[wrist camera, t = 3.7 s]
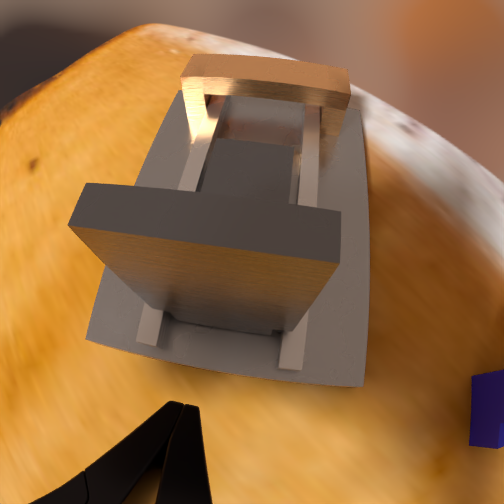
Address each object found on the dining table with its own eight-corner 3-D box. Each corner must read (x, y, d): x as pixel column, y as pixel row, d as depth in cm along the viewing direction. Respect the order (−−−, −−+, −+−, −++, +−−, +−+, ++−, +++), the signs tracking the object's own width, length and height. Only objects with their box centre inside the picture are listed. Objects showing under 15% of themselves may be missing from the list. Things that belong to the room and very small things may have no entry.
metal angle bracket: (287, 338, 14) (340, 263, 6) (161, 317, 15) (67, 225, 6) (304, 167, 18) (331, 33, 10) (206, 155, 19) (187, 22, 10)
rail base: (355, 387, 15) (397, 384, 10) (95, 342, 15) (45, 322, 11) (356, 121, 22) (372, 71, 18) (180, 101, 23) (171, 51, 19)
